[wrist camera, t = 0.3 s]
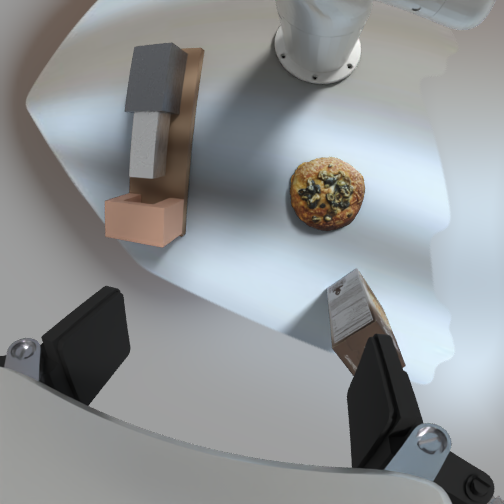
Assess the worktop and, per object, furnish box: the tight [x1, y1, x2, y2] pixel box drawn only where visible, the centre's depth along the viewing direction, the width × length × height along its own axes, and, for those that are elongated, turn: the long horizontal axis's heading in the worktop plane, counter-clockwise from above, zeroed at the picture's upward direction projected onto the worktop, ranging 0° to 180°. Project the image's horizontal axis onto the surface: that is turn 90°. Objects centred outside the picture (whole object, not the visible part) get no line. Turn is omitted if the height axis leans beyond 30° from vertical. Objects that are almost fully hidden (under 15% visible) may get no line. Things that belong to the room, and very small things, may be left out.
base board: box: [129, 48, 204, 237], centre depth 43 cm, size 30×10×2 cm, turn 173°
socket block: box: [105, 193, 184, 247], centre depth 43 cm, size 6×10×7 cm, turn 83°
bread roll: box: [290, 157, 365, 231], centre depth 41 cm, size 11×11×5 cm
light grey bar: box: [129, 111, 171, 179], centre depth 38 cm, size 18×4×4 cm, turn 173°
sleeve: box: [125, 43, 188, 115], centre depth 36 cm, size 10×6×6 cm, turn 173°
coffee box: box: [327, 269, 405, 376], centre depth 39 cm, size 9×6×16 cm
